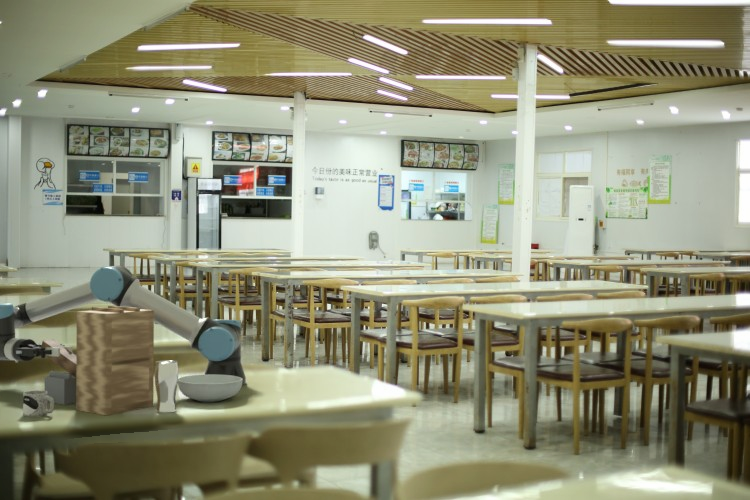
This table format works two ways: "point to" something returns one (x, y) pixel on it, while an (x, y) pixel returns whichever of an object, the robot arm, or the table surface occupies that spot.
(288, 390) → the table surface
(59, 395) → the grey cradle
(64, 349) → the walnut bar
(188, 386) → the serving bowl
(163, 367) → the beer glass
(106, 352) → the oak stand
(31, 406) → the mug
